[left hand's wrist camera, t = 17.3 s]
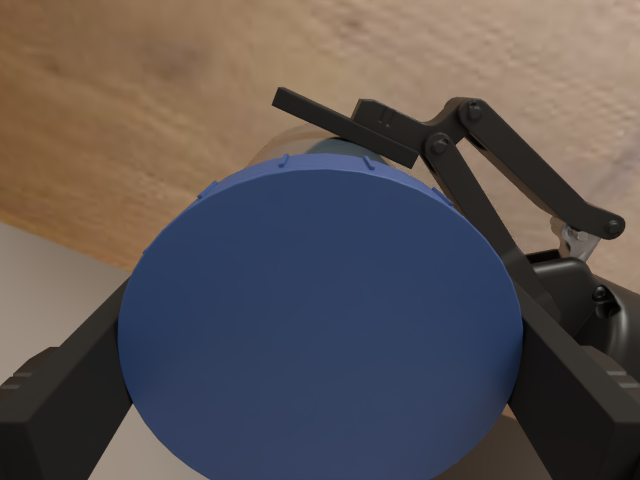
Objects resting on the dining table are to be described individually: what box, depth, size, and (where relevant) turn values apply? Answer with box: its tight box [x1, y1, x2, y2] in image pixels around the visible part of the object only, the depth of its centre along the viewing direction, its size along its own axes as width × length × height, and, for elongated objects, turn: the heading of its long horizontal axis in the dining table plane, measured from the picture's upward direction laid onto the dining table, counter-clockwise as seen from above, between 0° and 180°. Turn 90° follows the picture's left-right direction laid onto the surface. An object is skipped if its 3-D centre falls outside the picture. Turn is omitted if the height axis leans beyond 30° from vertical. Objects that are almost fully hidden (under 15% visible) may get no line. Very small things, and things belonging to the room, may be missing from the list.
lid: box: [117, 153, 523, 480], centre depth 11 cm, size 11×11×2 cm
